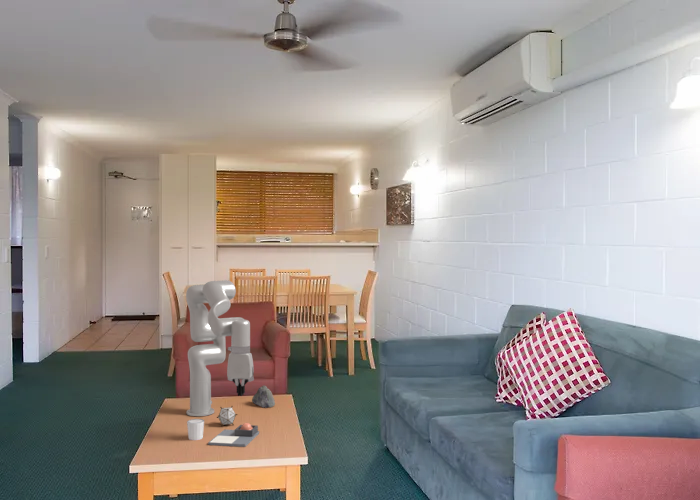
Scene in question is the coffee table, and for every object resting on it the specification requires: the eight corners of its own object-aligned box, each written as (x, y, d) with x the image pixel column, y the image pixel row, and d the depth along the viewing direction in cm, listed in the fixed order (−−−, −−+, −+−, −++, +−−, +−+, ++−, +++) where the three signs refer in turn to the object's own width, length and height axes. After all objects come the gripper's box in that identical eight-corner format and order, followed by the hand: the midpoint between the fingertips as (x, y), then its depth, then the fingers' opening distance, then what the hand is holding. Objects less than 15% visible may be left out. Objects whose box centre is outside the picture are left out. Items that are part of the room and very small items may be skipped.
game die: (229, 434, 279) (231, 419, 273) (212, 426, 280) (213, 411, 275) (239, 420, 286) (241, 405, 280) (222, 412, 288) (224, 397, 282)
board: (224, 431, 270) (224, 423, 270) (259, 433, 268) (259, 425, 268) (208, 445, 252) (208, 436, 252) (245, 446, 250) (245, 437, 250)
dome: (242, 431, 267) (242, 421, 267) (254, 432, 266) (254, 421, 266) (238, 435, 262) (238, 424, 262) (250, 435, 261) (250, 425, 261)
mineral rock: (251, 402, 321) (251, 382, 321) (273, 401, 323) (273, 381, 323) (252, 409, 308) (252, 388, 308) (275, 408, 310) (275, 387, 310)
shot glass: (188, 441, 257) (188, 423, 257) (185, 436, 263) (185, 419, 263) (205, 439, 260) (205, 422, 260) (202, 434, 266) (202, 417, 266)
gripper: (219, 351, 261) (220, 396, 261) (255, 352, 259) (255, 398, 259) (226, 348, 268) (226, 392, 268) (261, 349, 266) (261, 393, 266)
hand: (240, 395), depth 264 cm, fingers closed
